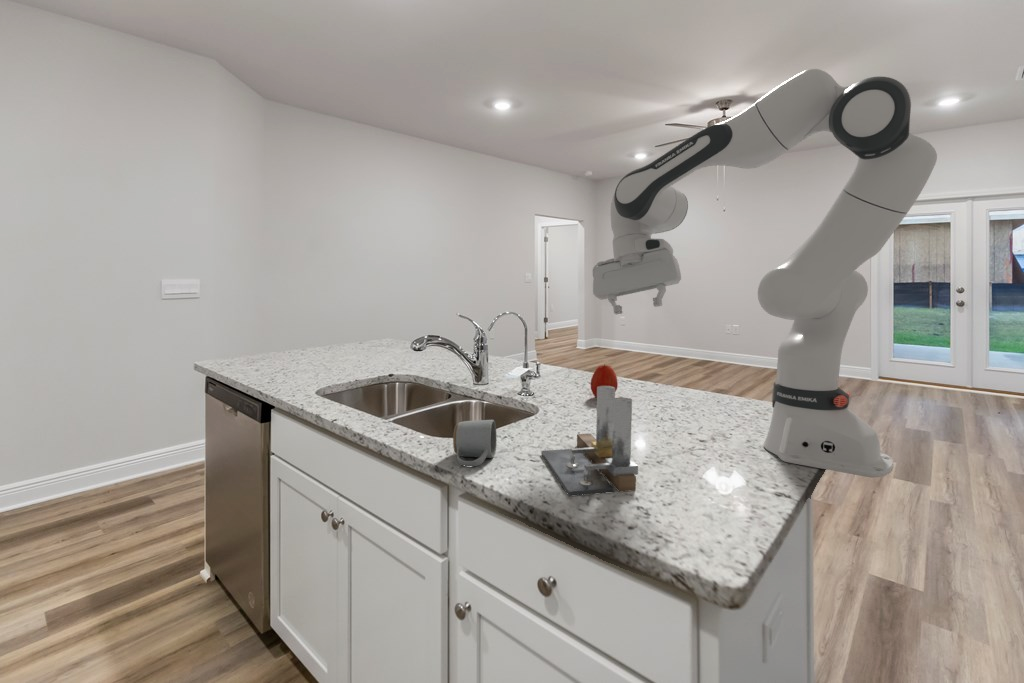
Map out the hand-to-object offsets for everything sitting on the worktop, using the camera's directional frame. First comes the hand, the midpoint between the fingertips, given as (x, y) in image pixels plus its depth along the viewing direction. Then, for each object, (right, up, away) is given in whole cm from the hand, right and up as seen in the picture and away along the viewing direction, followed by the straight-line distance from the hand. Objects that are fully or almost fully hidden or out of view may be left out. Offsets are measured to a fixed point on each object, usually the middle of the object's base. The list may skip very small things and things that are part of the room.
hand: (637, 309), depth 113 cm
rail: (-11, -32, -16) cm, 37 cm away
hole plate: (-17, -32, -19) cm, 41 cm away
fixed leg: (-12, -32, -25) cm, 42 cm away
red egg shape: (-1, -25, +37) cm, 44 cm away
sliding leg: (-13, -31, -17) cm, 37 cm away
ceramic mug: (-36, -32, -11) cm, 49 cm away
